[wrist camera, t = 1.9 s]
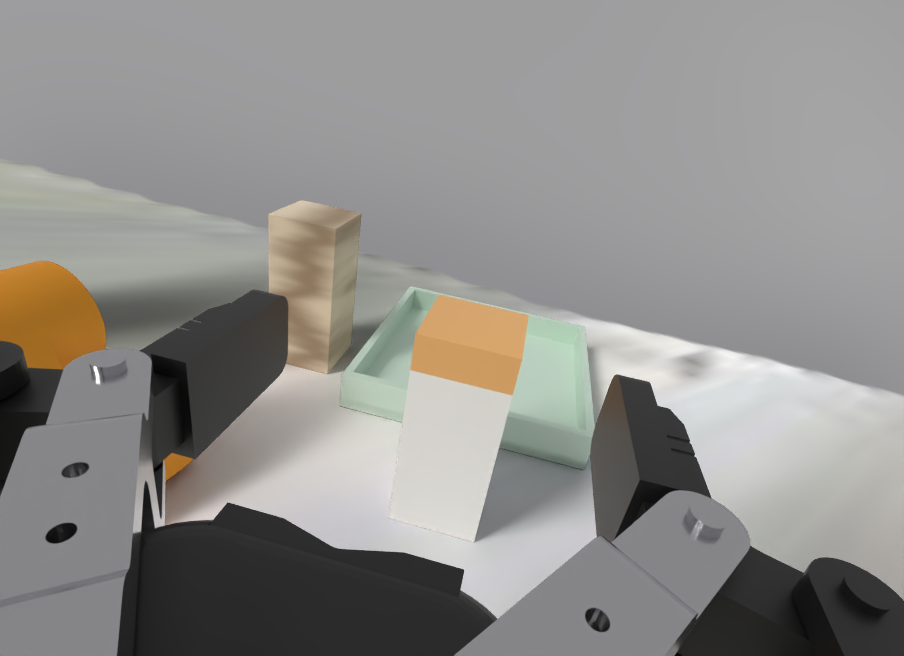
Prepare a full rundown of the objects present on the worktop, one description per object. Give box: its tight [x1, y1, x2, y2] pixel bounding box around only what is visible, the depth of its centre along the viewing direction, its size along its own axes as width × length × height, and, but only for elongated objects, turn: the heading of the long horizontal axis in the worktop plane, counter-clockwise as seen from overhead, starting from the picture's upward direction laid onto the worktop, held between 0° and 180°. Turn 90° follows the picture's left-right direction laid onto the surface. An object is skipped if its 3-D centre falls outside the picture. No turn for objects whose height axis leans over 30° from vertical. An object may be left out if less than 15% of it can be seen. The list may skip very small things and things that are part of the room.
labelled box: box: [389, 295, 529, 542], centre depth 28 cm, size 5×5×12 cm
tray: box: [340, 286, 595, 470], centre depth 43 cm, size 18×18×3 cm
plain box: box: [269, 200, 361, 374], centre depth 40 cm, size 5×5×12 cm
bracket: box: [0, 261, 193, 481], centre depth 25 cm, size 11×7×12 cm, turn 69°
